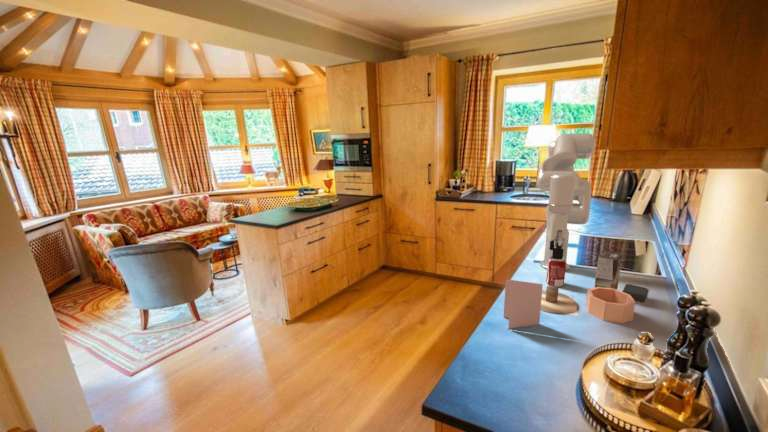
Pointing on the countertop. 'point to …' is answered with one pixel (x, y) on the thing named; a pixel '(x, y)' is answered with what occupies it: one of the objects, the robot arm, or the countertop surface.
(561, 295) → the lid
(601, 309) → the bowl
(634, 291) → the phone
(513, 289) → the greeting card
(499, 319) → the countertop surface
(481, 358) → the countertop surface
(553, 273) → the soda can
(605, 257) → the coffee box
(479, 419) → the countertop surface
